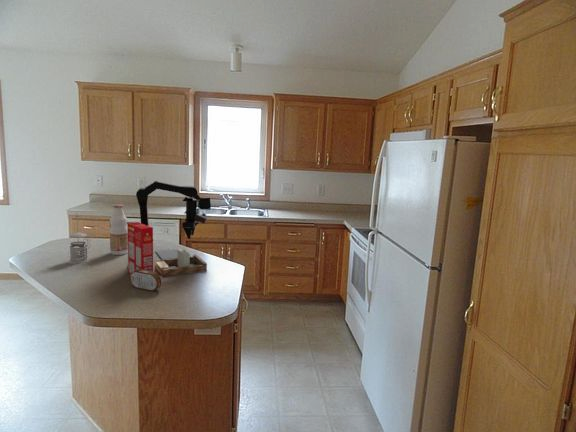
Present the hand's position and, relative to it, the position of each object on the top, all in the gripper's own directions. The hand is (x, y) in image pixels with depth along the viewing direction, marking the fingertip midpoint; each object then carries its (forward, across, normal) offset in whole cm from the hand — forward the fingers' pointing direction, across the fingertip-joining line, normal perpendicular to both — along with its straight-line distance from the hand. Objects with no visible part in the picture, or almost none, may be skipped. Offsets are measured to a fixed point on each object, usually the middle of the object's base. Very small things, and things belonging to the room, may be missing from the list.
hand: (190, 236), depth 210 cm
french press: (+14, -7, +56) cm, 58 cm away
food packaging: (+14, -29, +18) cm, 37 cm away
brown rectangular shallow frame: (+13, -16, +2) cm, 21 cm away
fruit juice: (+14, +9, +42) cm, 45 cm away
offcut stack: (+14, -20, +10) cm, 26 cm away
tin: (+14, -46, +11) cm, 49 cm away
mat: (+13, +8, +12) cm, 20 cm away
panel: (+13, -15, +1) cm, 20 cm away
